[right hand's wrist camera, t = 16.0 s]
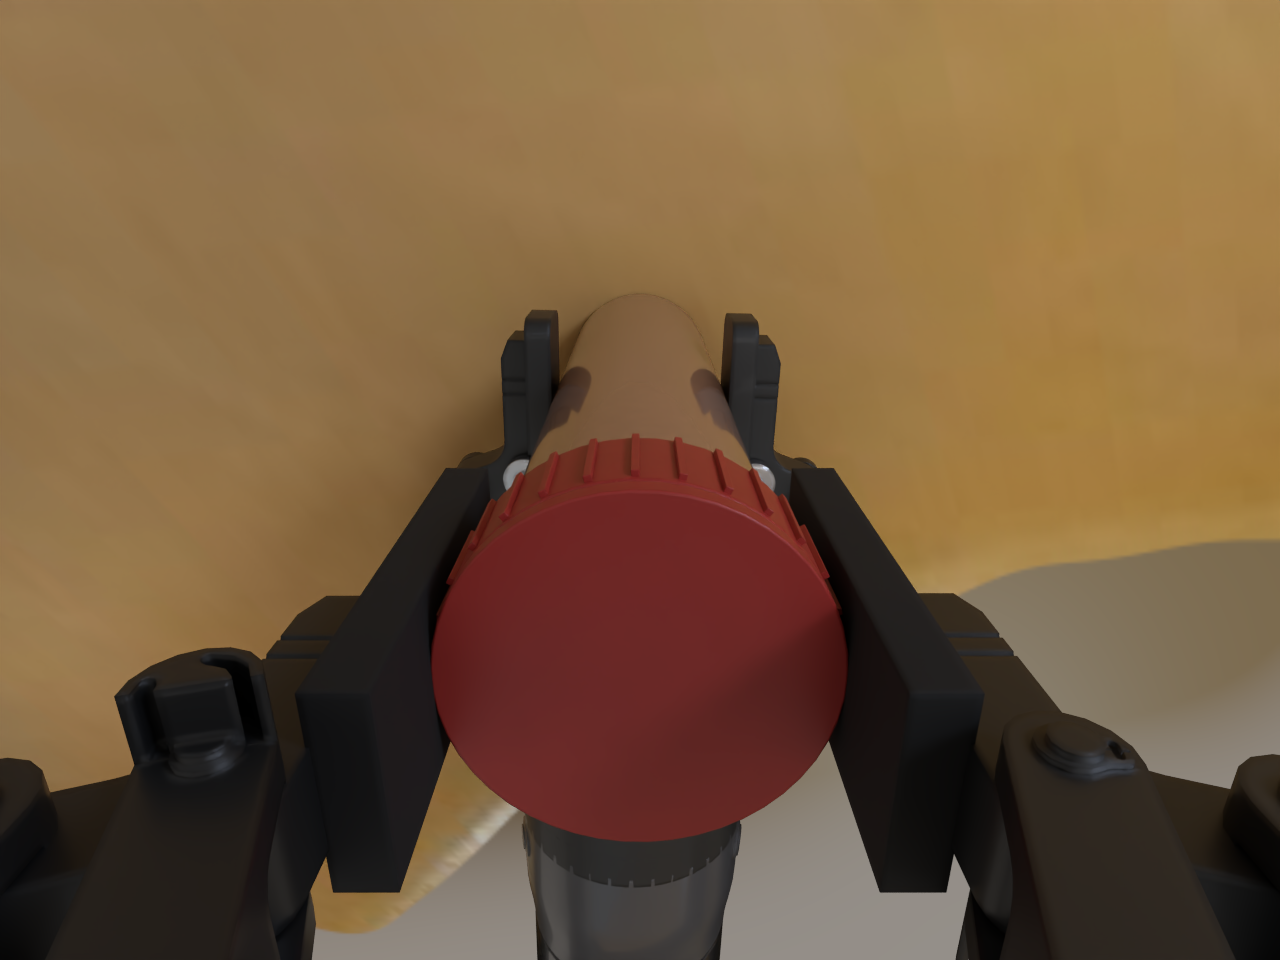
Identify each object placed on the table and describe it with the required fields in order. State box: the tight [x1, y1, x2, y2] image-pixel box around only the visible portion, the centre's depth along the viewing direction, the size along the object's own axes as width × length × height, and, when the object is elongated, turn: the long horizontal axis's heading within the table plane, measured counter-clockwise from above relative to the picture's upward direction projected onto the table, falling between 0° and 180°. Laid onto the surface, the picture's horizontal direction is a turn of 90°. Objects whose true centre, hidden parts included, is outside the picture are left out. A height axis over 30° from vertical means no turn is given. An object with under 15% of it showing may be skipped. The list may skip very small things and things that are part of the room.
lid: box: [431, 433, 848, 842], centre depth 11 cm, size 6×6×2 cm
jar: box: [524, 294, 753, 475], centre depth 19 cm, size 5×5×19 cm
